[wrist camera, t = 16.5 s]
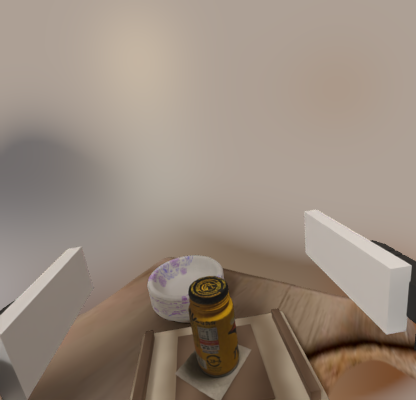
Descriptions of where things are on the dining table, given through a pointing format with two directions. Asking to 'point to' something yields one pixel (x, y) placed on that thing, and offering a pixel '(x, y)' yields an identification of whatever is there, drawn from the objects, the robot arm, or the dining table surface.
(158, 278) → the paper bowls
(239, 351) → the condiment
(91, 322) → the dining table surface
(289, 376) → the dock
